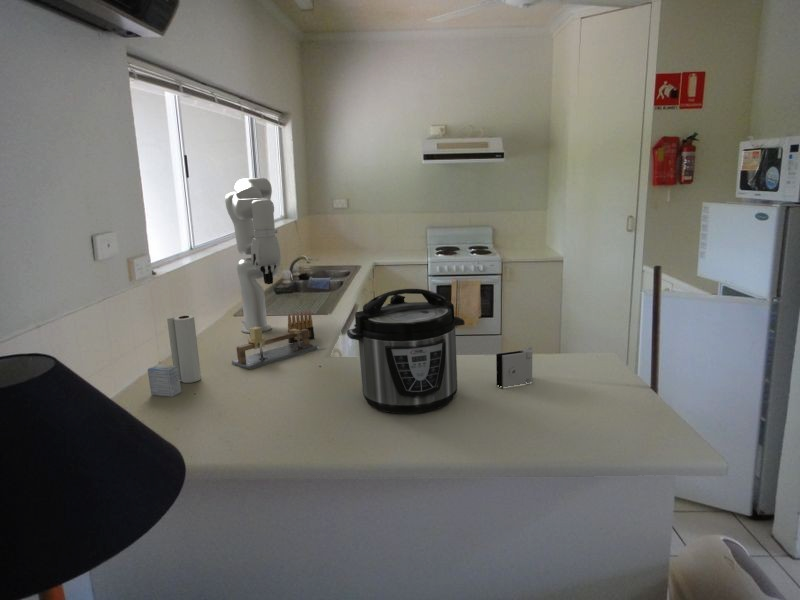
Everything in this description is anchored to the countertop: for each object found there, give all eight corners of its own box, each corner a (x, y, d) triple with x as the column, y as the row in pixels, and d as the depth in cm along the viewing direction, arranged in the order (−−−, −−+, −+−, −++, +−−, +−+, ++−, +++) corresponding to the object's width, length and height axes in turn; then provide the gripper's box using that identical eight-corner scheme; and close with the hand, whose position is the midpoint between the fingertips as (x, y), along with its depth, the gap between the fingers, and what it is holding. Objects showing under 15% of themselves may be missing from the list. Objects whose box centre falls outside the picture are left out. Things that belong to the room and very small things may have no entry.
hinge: (529, 377, 177) (530, 345, 175) (542, 381, 172) (542, 349, 170) (494, 386, 170) (494, 353, 168) (506, 391, 165) (506, 358, 163)
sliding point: (249, 357, 205) (246, 328, 203) (259, 354, 208) (256, 325, 205) (257, 359, 201) (255, 330, 199) (267, 356, 204) (264, 327, 202)
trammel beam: (238, 362, 200) (236, 343, 199) (306, 343, 222) (304, 326, 220) (244, 364, 198) (242, 345, 196) (312, 344, 219) (311, 327, 218)
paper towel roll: (205, 378, 189) (197, 315, 185) (191, 384, 183) (183, 319, 179) (188, 376, 192) (181, 314, 188) (175, 382, 186) (166, 318, 182)
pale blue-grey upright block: (181, 392, 176) (178, 365, 175) (171, 397, 172) (168, 370, 171) (161, 390, 179) (157, 364, 177) (150, 395, 175) (147, 368, 173)
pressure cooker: (340, 414, 154) (332, 298, 148) (376, 379, 180) (370, 280, 174) (449, 423, 145) (446, 301, 138) (470, 385, 171) (468, 281, 165)
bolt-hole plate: (232, 363, 203) (231, 360, 203) (299, 344, 225) (299, 341, 224) (249, 369, 196) (249, 366, 196) (317, 348, 217) (317, 345, 217)
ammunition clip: (312, 337, 234) (310, 309, 232) (314, 338, 232) (312, 309, 230) (288, 342, 228) (285, 313, 226) (290, 343, 227) (287, 314, 224)
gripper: (275, 231, 216) (279, 279, 220) (240, 235, 205) (245, 285, 209) (287, 232, 211) (291, 281, 215) (252, 236, 200) (257, 288, 204)
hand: (268, 283), depth 212 cm, fingers closed
